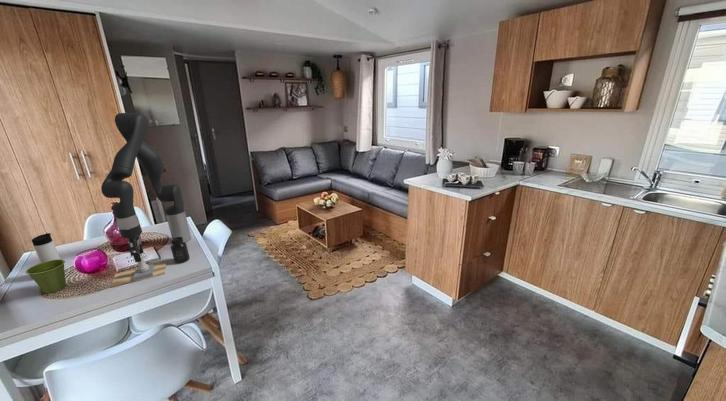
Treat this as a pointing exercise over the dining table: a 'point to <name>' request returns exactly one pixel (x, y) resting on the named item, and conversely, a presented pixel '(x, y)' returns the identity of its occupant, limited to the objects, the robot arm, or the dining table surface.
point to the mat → (128, 275)
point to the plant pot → (49, 275)
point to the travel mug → (45, 248)
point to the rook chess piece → (142, 265)
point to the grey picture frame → (144, 273)
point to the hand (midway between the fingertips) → (139, 257)
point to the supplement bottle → (179, 250)
